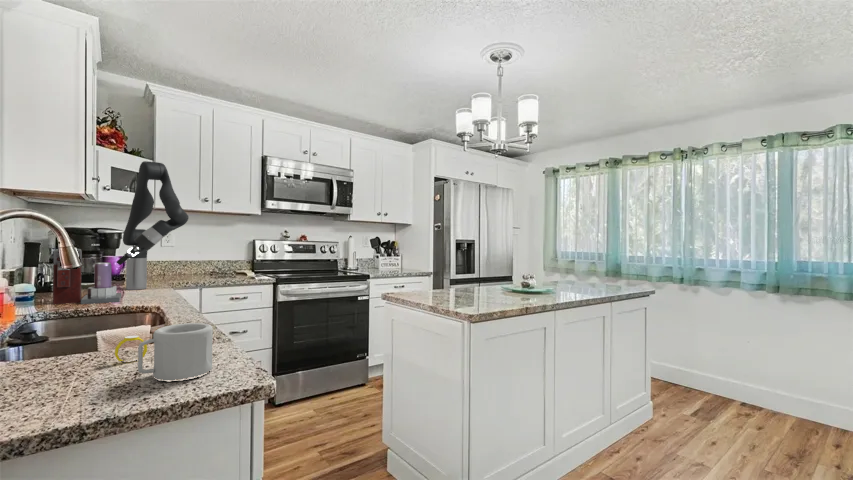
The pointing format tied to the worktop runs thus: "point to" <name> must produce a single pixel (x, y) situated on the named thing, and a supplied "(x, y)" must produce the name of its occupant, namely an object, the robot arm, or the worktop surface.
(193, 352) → the mug
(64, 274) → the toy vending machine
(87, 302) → the transparent rectangular container
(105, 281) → the beverage can
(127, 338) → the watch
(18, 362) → the worktop surface
